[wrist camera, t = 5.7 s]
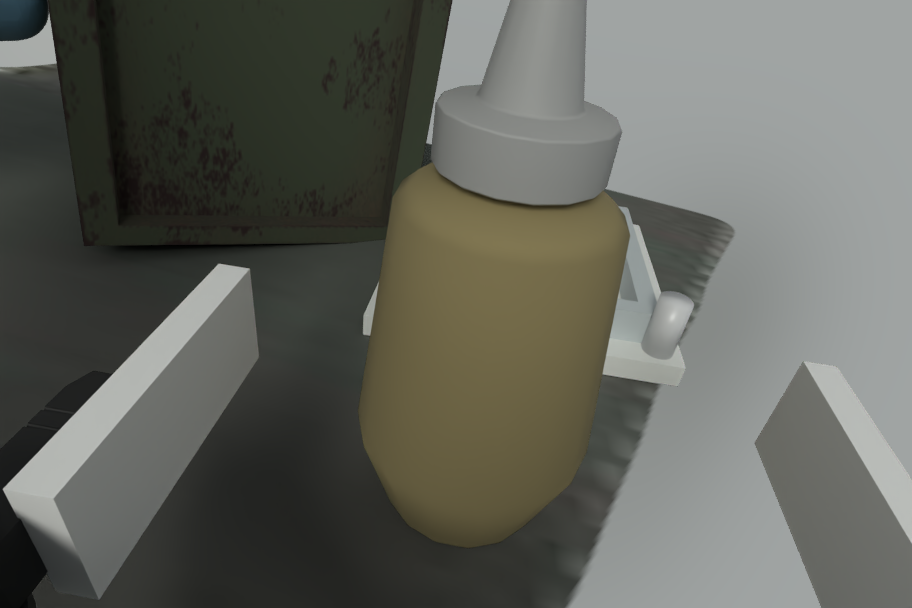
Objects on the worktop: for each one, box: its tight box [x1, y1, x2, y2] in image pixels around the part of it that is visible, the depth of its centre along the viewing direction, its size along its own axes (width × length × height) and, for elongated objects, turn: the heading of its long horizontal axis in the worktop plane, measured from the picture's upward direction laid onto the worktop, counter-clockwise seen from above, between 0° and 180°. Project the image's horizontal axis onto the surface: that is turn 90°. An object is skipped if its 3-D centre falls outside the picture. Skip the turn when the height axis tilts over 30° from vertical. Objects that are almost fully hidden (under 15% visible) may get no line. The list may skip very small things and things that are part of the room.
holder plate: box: [363, 206, 694, 387], centre depth 34 cm, size 16×16×4 cm
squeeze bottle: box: [358, 0, 630, 548], centre depth 17 cm, size 8×8×18 cm
